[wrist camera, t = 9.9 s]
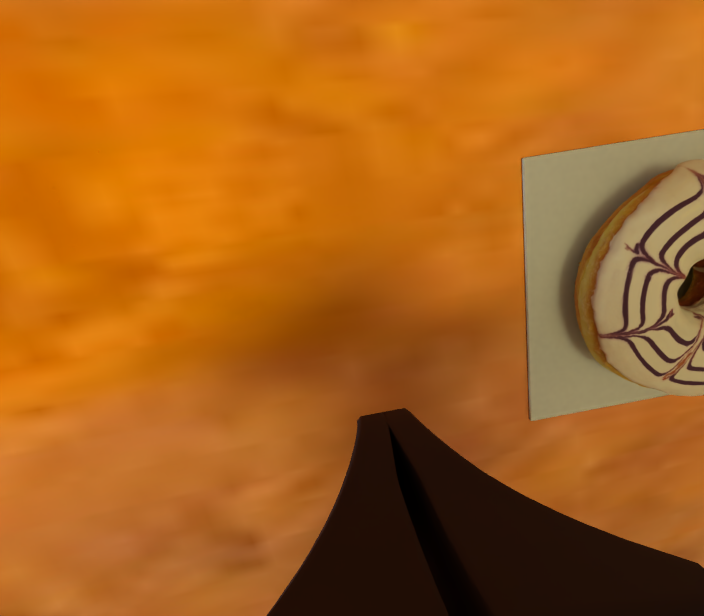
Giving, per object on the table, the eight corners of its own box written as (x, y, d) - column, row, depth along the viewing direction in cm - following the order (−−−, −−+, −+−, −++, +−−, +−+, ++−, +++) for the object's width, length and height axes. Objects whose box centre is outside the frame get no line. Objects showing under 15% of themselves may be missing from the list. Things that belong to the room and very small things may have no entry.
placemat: (760, 375, 22) (764, 376, 22) (529, 419, 22) (531, 421, 21) (801, 113, 18) (806, 112, 18) (521, 158, 18) (523, 157, 18)
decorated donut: (792, 212, 20) (901, 214, 16) (679, 392, 22) (751, 430, 18) (629, 130, 18) (710, 111, 14) (524, 337, 20) (570, 367, 16)
